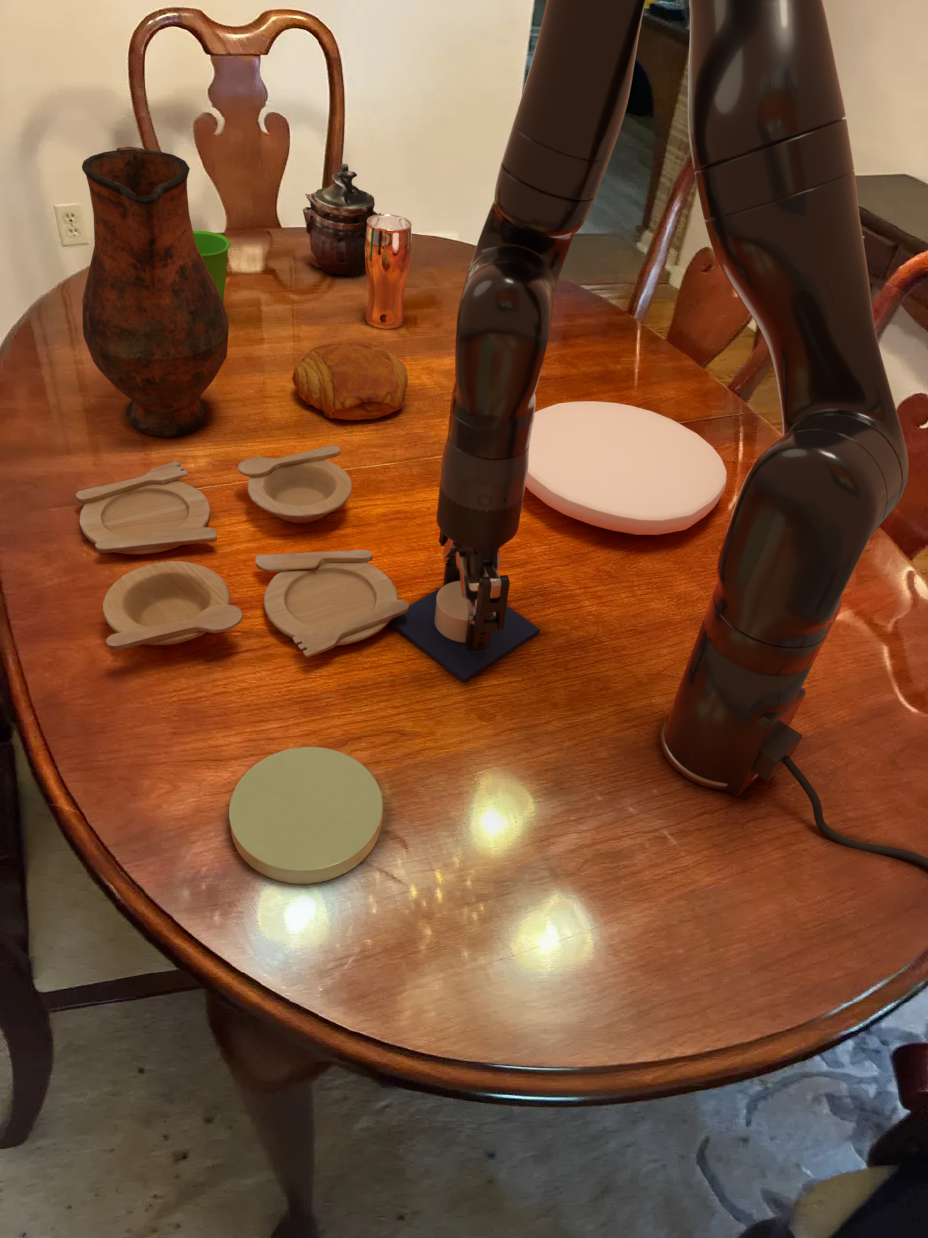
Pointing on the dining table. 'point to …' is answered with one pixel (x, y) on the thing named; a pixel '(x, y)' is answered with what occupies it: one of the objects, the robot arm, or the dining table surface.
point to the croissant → (351, 380)
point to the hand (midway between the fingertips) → (464, 618)
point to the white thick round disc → (622, 467)
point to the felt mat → (455, 654)
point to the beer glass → (387, 268)
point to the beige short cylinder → (452, 611)
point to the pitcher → (151, 292)
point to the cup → (214, 256)
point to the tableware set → (296, 597)
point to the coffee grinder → (339, 224)
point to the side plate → (305, 815)
